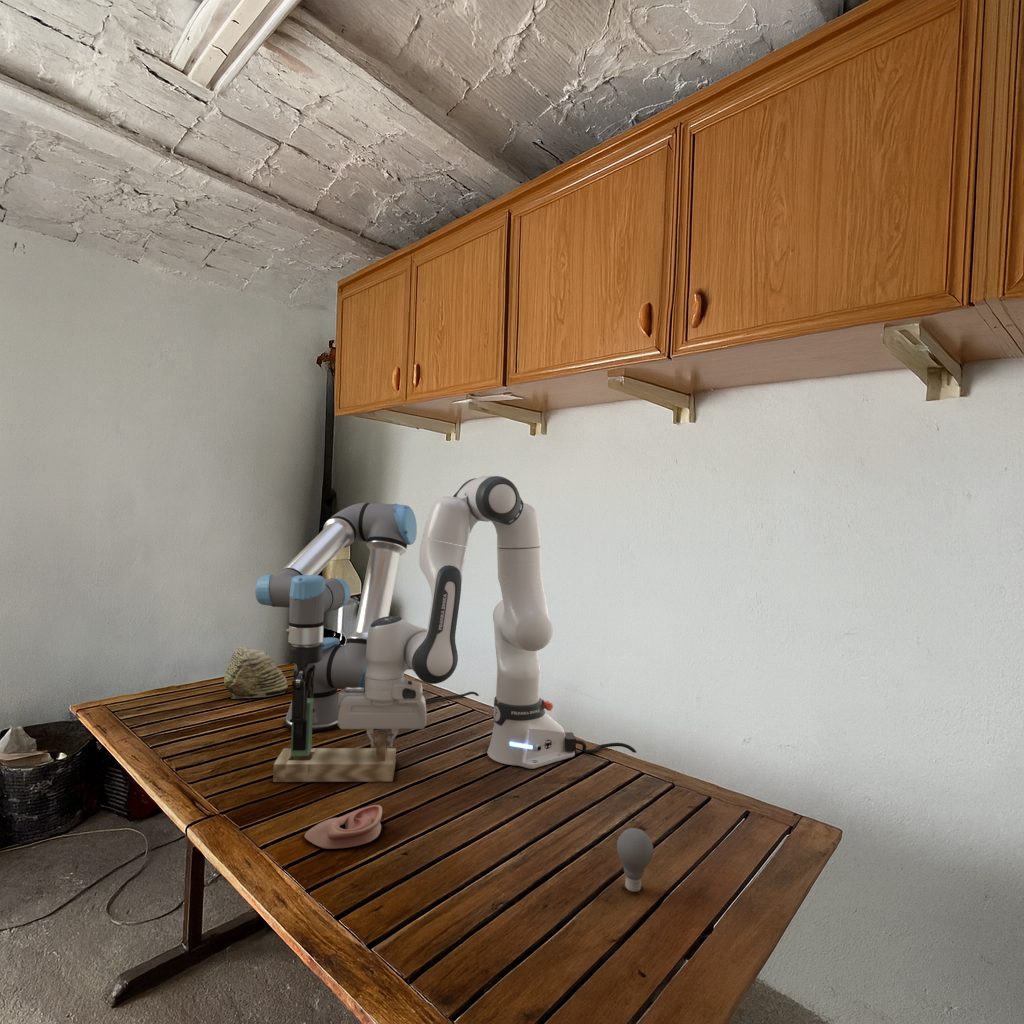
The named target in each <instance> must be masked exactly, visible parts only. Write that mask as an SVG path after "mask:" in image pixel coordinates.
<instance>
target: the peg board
mask: <svg viewBox="0 0 1024 1024" xmlns="http://www.w3.org/2000/svg"><path fill="white" fill-rule="evenodd" d="M376 733H377V734H376V738H377V746H376V748H371V747H333V748H332V747H311V751H310V753H309V755H308V756H291V747H284V748H283V749H282V750H281V752H280V754H279V755H278V757H277V758H276V760H275V762H274V763H273V773H272V776H273V777H272V782H273V783H307V782H308V783H315V782H316V783H317V782H318V783H336V782H337V783H341V782H342V783H343V782H344V783H345V782H347V783H349V782H350V783H351V782H353V783H355V782H363V783H364V782H367V783H369V782H378V783H379V782H394V781H393V780H394V775H395V769H396V760H397V759H396V758H397V748H396V747H392V748H386V740H387V738H389V729H377V732H376Z"/></svg>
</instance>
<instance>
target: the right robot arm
mask: <svg viewBox="0 0 1024 1024" xmlns="http://www.w3.org/2000/svg"><path fill="white" fill-rule="evenodd" d="M538 519H539V518H538V515H537V510H536V509H535V508H534V507H533V506H532V505H530V504H528V503H526V502H524V501H523V499H522V497H521V496H520V493H519V490H518V488H517V487H516V485H515V484H514V483H513V482H512V481H511V480H510V479H508V478H506V477H503V476H500V475H482V476H479V477H476V478H471V479H468V480H467V481H465V482H464V483H463V484H462V485H461V486H460V487H459V488H458V490H457V491H456V492H455V493H454V494H453V496H451V495H447V496H442V497H440V498H437V499H436V500H435V501H434V502H433V504H432V506H431V509H430V511H429V514H428V516H427V519H426V522H425V525H424V529H423V532H422V536H421V537H422V538H421V541H420V547H419V557H418V558H419V559H418V561H419V562H418V563H419V567H420V570H421V571H422V573H423V575H424V577H425V578H426V580H427V582H428V585H429V588H430V593H431V602H430V608H429V616H428V621H427V622H428V623H427V628H425V627H424V628H423V627H421V626H420V627H419V626H416V625H414V624H413V623H410V622H408V621H407V620H405V619H404V618H403V617H401V616H398V615H389V616H387V617H382V618H379V619H377V620H375V621H374V622H373V623H372V624H371V625H370V628H369V631H368V636H367V645H366V659H367V669H366V672H365V687H357V688H356V687H355V688H351V687H346V688H345V689H340V690H339V692H337V695H338V704H339V706H340V709H339V715H338V726H337V727H338V728H339V729H340V730H366V736H367V737H368V739H369V741H370V748H376V746H377V737H375V735H374V730H378V729H388V730H391V736H390V737H388V738H387V740H386V748H394V747H393V746H394V741H395V739H396V737H397V735H398V733H399V730H423V729H425V728H426V727H427V724H428V721H427V720H428V712H427V711H428V710H427V703H426V702H425V700H426V697H425V696H424V695H423V691H424V689H423V684H422V683H421V682H419V681H416V680H413V679H411V678H407V677H405V673H406V671H407V670H412V671H413V672H414V674H415V675H416V676H417V678H418V679H419V680H421V681H422V682H424V683H426V684H428V685H429V684H430V685H436V684H441V683H443V682H445V681H447V680H449V678H450V677H451V676H452V675H453V674H454V672H455V671H456V669H457V666H458V662H459V659H458V658H459V655H458V650H457V644H456V633H457V624H458V617H459V610H460V603H461V594H462V583H463V572H464V566H465V560H466V556H467V550H468V546H469V540H470V535H471V532H472V530H473V529H474V527H475V525H476V524H477V523H478V522H486V523H488V522H491V523H492V524H493V526H494V529H495V532H496V551H497V552H496V555H497V558H496V559H497V579H498V583H499V587H500V591H501V597H502V600H500V601H498V603H496V605H495V606H494V609H493V611H492V621H493V630H494V646H495V657H496V691H495V697H494V700H493V713H492V714H493V727H492V732H491V737H490V742H489V744H488V745H489V746H488V748H487V751H486V754H487V756H488V757H489V758H490V759H491V760H492V761H494V762H496V763H499V764H504V765H508V766H509V765H510V766H515V767H516V766H518V767H522V768H526V769H530V770H531V769H537V768H540V767H541V768H542V767H544V766H547V765H550V764H554V763H556V762H560V761H563V760H567V759H570V758H573V757H575V756H576V753H575V752H576V751H577V745H581V746H582V752H583V753H585V754H593V753H597V752H599V751H600V749H605V748H613V747H621V748H626V749H628V750H629V751H630V752H632V753H633V754H634V753H635V754H636V753H637V750H636V749H635V748H634V747H632V746H631V745H630V744H627V743H623V742H609V743H603V744H602V743H601V744H598V745H596V747H595V748H591V749H587V744H586V742H584V741H583V740H581V739H577V738H576V736H575V734H574V732H572V731H571V732H567V731H566V732H565V730H564V728H563V727H562V726H561V724H560V723H558V722H557V721H556V720H555V719H554V718H553V717H551V716H550V715H549V714H548V713H546V710H547V711H548V712H551V711H552V710H553V709H554V704H553V703H552V702H550V701H548V700H546V701H545V700H544V699H542V698H541V697H540V696H541V672H542V670H541V664H540V660H539V655H538V651H540V650H543V649H544V648H546V647H547V646H548V645H549V643H550V642H551V640H552V638H553V632H554V627H553V623H552V622H551V621H552V620H551V619H550V614H549V610H548V602H547V598H546V592H545V587H544V582H543V573H542V572H543V571H542V570H543V569H542V545H541V543H542V542H541V541H542V540H541V531H540V524H539V520H538Z"/></svg>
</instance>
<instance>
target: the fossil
mask: <svg viewBox="0 0 1024 1024" xmlns="http://www.w3.org/2000/svg"><path fill="white" fill-rule="evenodd" d="M231 655H232V656H231V658H230V659H229V661H228V663H227V666H226V669H225V673H224V677H223V678H224V679H223V686H224V687H225V688H226V689H227V691H228V692H229V693H230V696H231V697H230V698H231V699H233V700H234V699H235V700H236V699H237V700H238V699H252V698H253V699H255V698H258V699H259V698H266V697H273V696H274V697H275V696H277V695H282V694H285V693H286V691H287V690H288V687H289V685H288V680H287V678H286V676H285V674H284V673H283V671H282V669H280V668H279V667H278V666H277V663H276V661H274V659H273V658H272V657H271V656H270V655H269V654H268V653H267V651H265V649H263V648H255V649H254V648H251V647H247V646H239V647H238V648H237V649H236V650H235V651H233V654H231Z"/></svg>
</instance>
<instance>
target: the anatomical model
mask: <svg viewBox="0 0 1024 1024" xmlns="http://www.w3.org/2000/svg"><path fill="white" fill-rule="evenodd" d="M382 817H383V807H382V805H380V804H372V805H369V806H365V807H362V808H358V809H356V810H353V811H351V812H348V813H346V814H344V815H341V816H339V817H332V818H328V819H326V820H323V821H321V822H319V823H317V824H316V825H314V826H312V827H311V828H309V829H308V830H307V831H306V832H305V834H304V836H303V837H304V838H305V840H306V841H308V842H309V843H311V844H312V845H314V846H317V847H318V848H321V849H325V850H335V849H337V850H338V849H345V848H352V847H358V846H362V845H365V844H368V843H370V842H372V841H374V840H376V839H377V838H378V837H379V836H380V834H381V831H382V824H381V820H382Z"/></svg>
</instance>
